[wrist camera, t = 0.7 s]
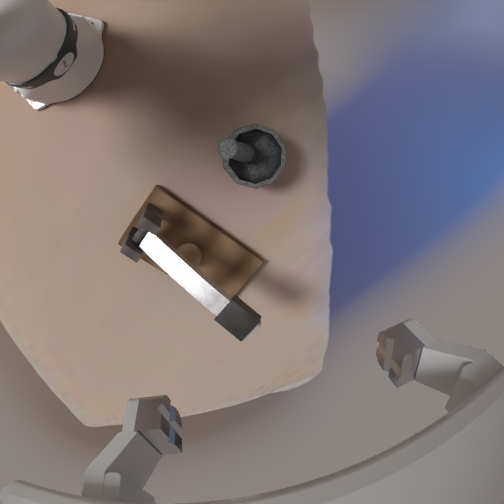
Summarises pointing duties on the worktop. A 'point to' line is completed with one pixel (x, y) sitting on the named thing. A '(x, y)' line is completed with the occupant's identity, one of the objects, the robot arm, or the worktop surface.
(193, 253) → the smooth brown ball
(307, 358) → the worktop surface
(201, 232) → the base
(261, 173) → the mortar and pestle
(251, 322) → the lever
